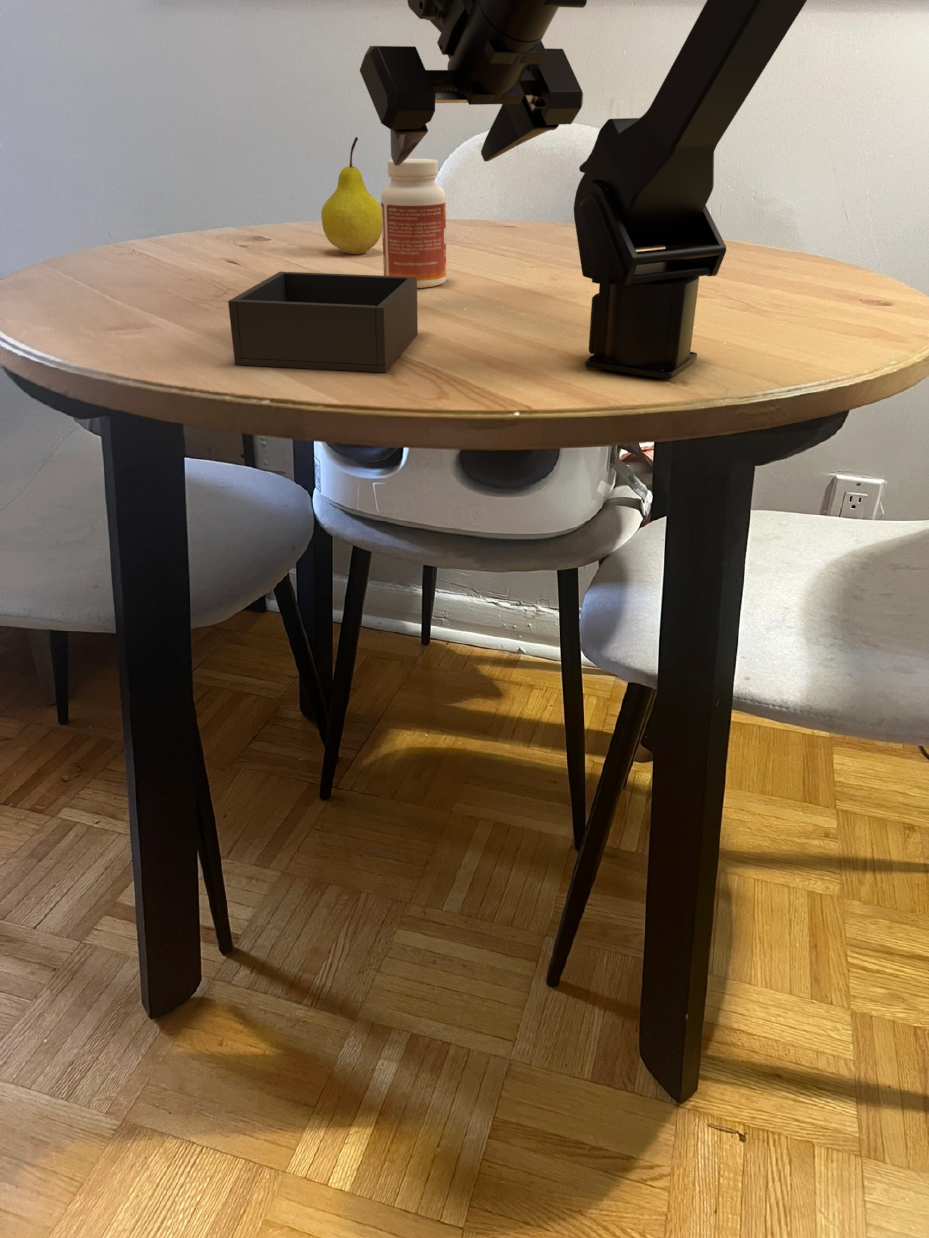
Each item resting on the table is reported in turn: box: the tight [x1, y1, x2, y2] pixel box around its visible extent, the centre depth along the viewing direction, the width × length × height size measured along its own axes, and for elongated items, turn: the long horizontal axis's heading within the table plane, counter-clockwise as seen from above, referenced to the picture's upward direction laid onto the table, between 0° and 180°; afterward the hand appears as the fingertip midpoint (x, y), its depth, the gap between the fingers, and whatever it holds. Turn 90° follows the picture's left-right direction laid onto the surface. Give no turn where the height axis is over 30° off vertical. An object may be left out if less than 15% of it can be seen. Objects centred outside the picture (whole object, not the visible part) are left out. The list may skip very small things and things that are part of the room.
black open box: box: [227, 271, 419, 374], centre depth 74 cm, size 11×11×4 cm
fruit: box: [320, 136, 382, 255], centre depth 110 cm, size 7×7×12 cm
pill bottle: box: [380, 157, 447, 289], centre depth 95 cm, size 6×6×11 cm
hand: (440, 159), depth 88 cm, fingers open, 9 cm apart
